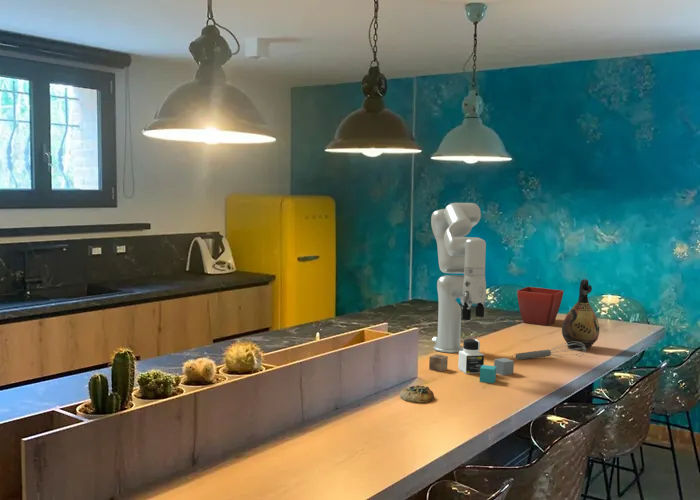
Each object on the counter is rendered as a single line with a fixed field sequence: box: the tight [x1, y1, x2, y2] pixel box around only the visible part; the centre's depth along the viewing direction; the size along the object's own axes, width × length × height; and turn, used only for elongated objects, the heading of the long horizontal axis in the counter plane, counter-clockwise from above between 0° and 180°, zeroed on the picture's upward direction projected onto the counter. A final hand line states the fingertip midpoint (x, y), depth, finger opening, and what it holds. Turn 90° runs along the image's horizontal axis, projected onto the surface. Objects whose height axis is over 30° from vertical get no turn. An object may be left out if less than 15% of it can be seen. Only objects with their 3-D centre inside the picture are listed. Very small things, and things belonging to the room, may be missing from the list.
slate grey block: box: [493, 357, 515, 377], centre depth 254 cm, size 5×5×5 cm
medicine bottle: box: [457, 338, 485, 375], centre depth 255 cm, size 7×7×12 cm
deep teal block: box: [479, 364, 497, 384], centre depth 243 cm, size 5×5×5 cm
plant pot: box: [516, 286, 565, 326], centre depth 352 cm, size 19×19×17 cm
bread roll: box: [399, 385, 435, 404], centre depth 221 cm, size 11×11×5 cm
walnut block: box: [428, 354, 449, 373], centre depth 257 cm, size 5×5×5 cm
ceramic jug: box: [561, 278, 600, 352], centre depth 296 cm, size 17×15×30 cm
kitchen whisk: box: [511, 342, 586, 361], centre depth 279 cm, size 6×34×6 cm, turn 107°
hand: (473, 318), depth 253 cm, fingers open, 9 cm apart
